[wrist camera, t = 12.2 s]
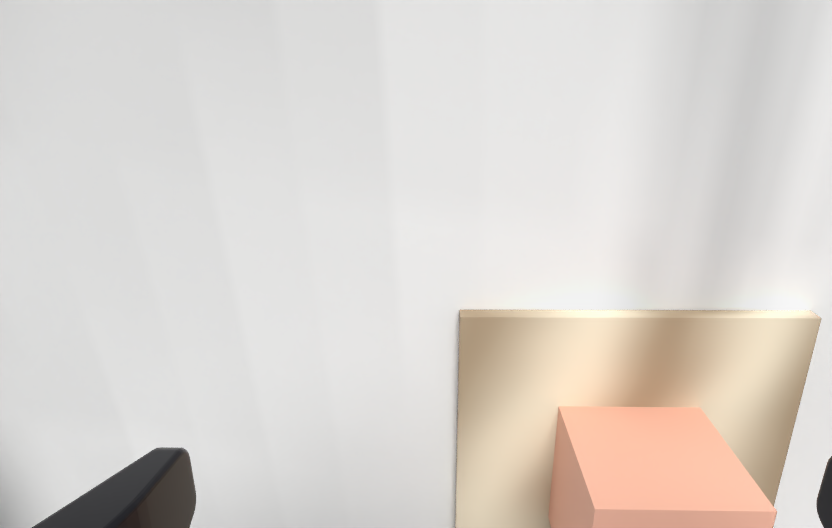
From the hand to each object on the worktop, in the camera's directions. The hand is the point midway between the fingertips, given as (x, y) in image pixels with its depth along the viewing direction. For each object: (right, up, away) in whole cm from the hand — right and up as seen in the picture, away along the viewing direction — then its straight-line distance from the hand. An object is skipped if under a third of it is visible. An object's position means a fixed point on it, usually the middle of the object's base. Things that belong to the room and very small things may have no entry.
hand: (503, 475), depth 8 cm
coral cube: (+6, -4, +14) cm, 16 cm away
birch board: (+6, -4, +14) cm, 16 cm away
